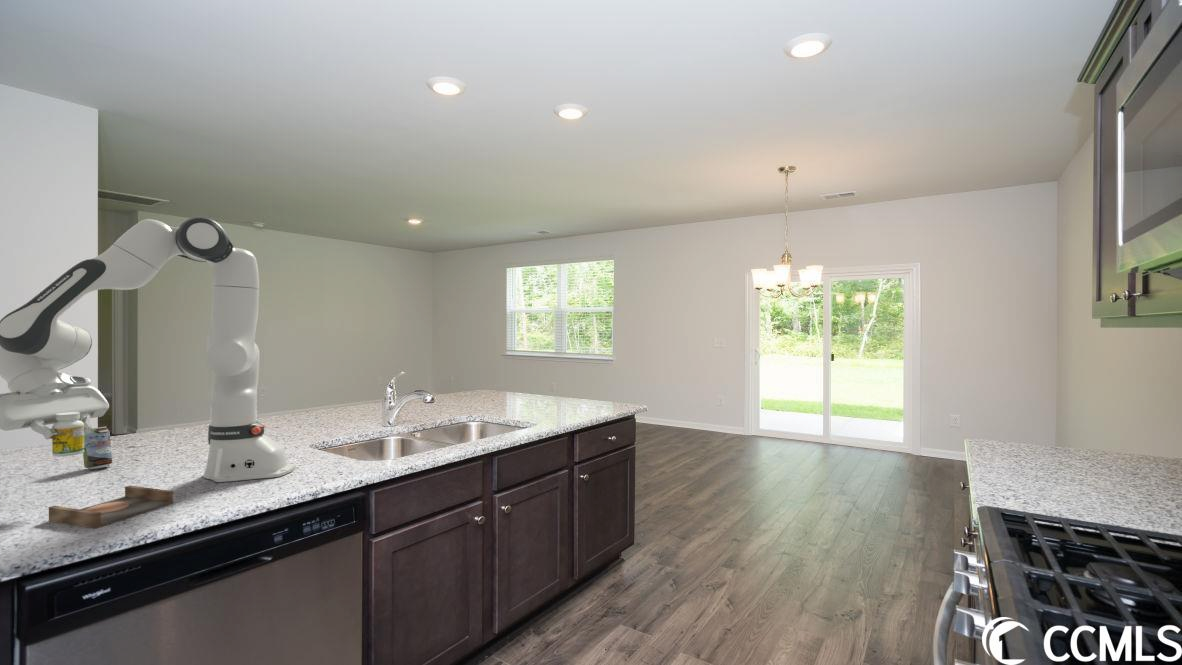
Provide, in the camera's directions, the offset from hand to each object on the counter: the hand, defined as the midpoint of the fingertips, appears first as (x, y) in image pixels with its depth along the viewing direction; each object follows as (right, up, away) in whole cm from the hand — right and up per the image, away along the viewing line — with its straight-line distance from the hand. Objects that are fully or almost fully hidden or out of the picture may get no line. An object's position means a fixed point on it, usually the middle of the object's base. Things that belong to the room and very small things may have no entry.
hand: (70, 434), depth 125 cm
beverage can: (-22, -16, +31) cm, 41 cm away
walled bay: (+13, -17, -3) cm, 22 cm away
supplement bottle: (-1, -5, 0) cm, 5 cm away
